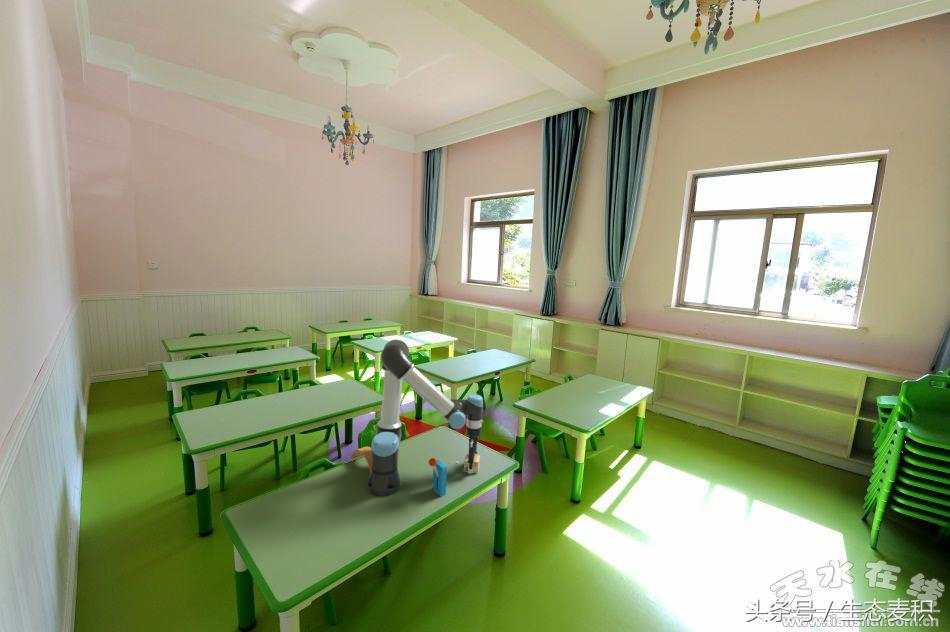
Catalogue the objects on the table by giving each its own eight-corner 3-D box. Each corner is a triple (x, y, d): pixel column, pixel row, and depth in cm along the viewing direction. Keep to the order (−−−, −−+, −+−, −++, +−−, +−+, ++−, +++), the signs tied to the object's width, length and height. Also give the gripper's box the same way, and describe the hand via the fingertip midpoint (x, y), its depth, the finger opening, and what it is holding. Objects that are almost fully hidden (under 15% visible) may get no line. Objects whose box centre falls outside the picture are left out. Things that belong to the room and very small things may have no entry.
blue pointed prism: (423, 494, 173) (425, 456, 171) (436, 489, 177) (438, 452, 175) (432, 502, 168) (433, 462, 166) (445, 496, 172) (447, 458, 170)
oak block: (463, 474, 191) (464, 460, 190) (465, 467, 198) (466, 454, 197) (477, 475, 190) (478, 462, 189) (479, 468, 197) (480, 455, 196)
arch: (370, 478, 184) (371, 458, 182) (350, 462, 197) (350, 443, 196) (381, 474, 188) (381, 455, 186) (360, 459, 202) (360, 440, 200)
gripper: (479, 435, 181) (476, 481, 184) (483, 419, 201) (481, 461, 203) (463, 433, 182) (460, 479, 185) (469, 418, 201) (467, 459, 204)
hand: (471, 470), depth 194 cm, fingers closed on oak block, 7 cm apart
